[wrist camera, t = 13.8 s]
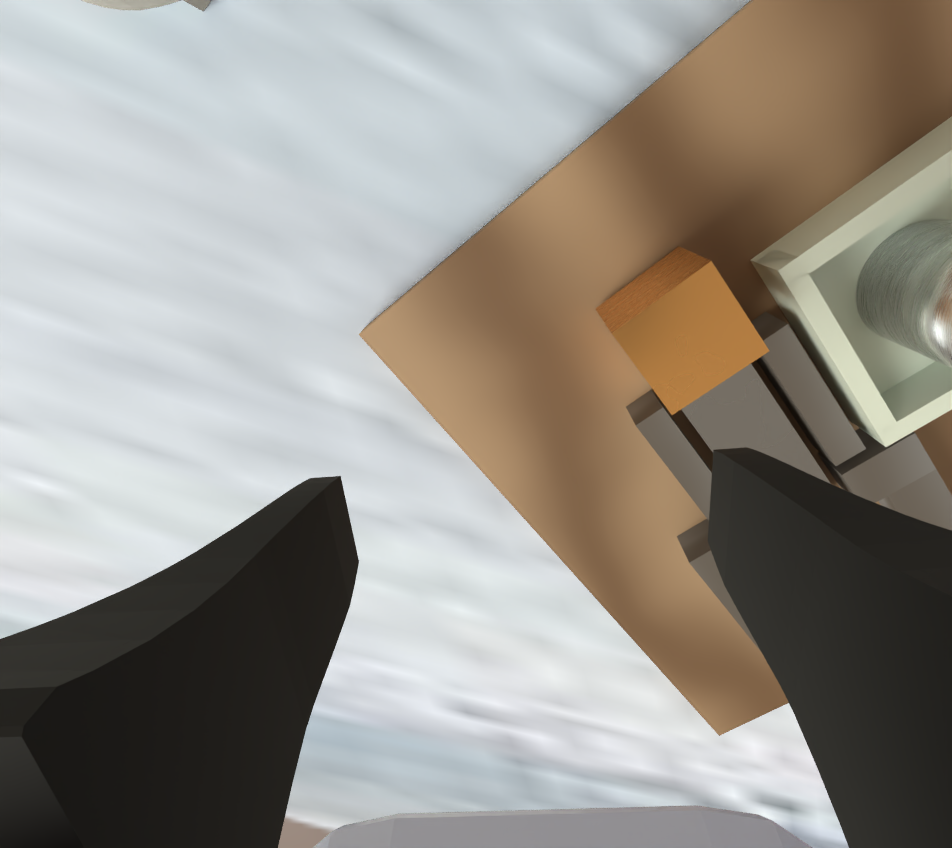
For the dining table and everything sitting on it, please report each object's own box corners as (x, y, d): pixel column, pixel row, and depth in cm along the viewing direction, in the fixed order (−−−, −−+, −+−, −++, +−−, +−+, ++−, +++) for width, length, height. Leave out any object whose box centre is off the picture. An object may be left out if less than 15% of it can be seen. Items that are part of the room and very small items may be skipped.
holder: (886, -114, 15) (957, -166, 13) (1157, 499, 22) (1237, 540, 19) (365, 327, 20) (347, 348, 18) (711, 716, 27) (732, 769, 25)
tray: (982, 94, 16) (1044, 85, 14) (1069, 290, 18) (1133, 304, 16) (750, 260, 18) (778, 270, 16) (850, 421, 20) (886, 447, 18)
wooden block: (678, 246, 18) (711, 260, 15) (839, 489, 21) (890, 538, 18) (595, 308, 19) (611, 333, 16) (761, 533, 22) (799, 587, 19)
